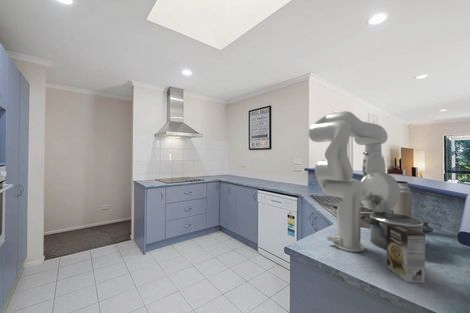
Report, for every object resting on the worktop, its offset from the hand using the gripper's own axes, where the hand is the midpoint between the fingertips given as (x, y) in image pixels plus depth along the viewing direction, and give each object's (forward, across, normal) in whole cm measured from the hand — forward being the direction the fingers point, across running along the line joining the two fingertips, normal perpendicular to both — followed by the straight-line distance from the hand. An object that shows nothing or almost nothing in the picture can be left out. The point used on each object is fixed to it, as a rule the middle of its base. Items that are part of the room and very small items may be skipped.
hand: (373, 187), depth 110 cm
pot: (+25, -1, -16) cm, 30 cm away
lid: (+2, 0, -5) cm, 6 cm away
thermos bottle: (+26, +20, +6) cm, 34 cm away
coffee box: (+25, -17, -41) cm, 50 cm away
